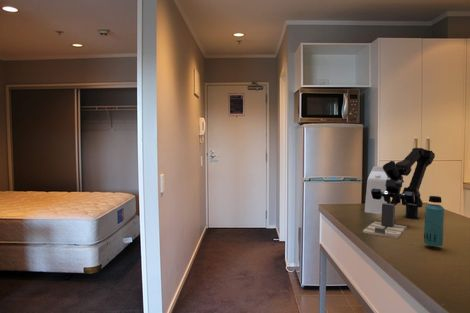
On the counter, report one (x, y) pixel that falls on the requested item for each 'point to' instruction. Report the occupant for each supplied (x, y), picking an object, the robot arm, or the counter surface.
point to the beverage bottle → (434, 223)
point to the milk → (378, 182)
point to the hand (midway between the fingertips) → (389, 209)
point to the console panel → (385, 230)
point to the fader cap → (388, 214)
